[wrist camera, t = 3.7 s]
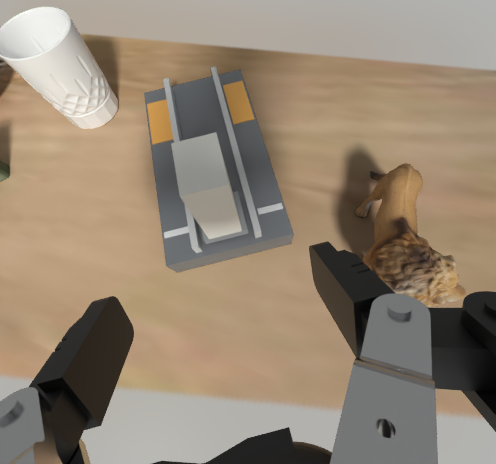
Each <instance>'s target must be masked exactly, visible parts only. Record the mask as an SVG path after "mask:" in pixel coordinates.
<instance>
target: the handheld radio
mask: <svg viewBox="0 0 496 464" xmlns="http://www.w3.org/2000/svg"><path fill="white" fill-rule="evenodd" d="M9 176H10V172H9V168H8V165H6V164H5V163H3V162H2V161H0V181H3V180H5V179H7V178H9Z"/></svg>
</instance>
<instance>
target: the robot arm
mask: <svg viewBox="0 0 496 464" xmlns="http://www.w3.org/2000/svg"><path fill="white" fill-rule="evenodd" d="M309 252H310V259H311V266H312V273H313V279H314V283H315V286H316V289H317V291H318V293H319V295H320V297H321V298H322V300H323V302H324V303H325V305H326V307H327V309H328V310H329V312H330V314H331V315H332V317H333V319H334V320H335V322H336V324H337V326H338V327H339V329H340V331H341V332H342V334H343V336H344V338H345V339H346V341H347V343H348V344H349V346H350V348H351V350H352V351H353V353H354V355H355V356H356V359H355V361H354V364H353V368H352V372H351V376H350V380H349V384H348V389H347V393H346V397H345V401H344V406H343V410H342V414H341V418H340V423H339V427H338V431H337V435H336V439H335V444H334V448H333V452H330V451H328V450H326V449H324V448H321V447H319V446H316V445H312V444H308V443H304V442H293V440H292V437H291V433H290V429H289V427H288V428H285V429H281V430H278V431H273V432H270V433H266V434H262V435H258V436H255V437H251V438H247V439H246V440H244V441H242V442H241V443H239V444H237V445H236V446H234V447H232V448H231V449H229V450H227V451H225V452H224V453H222V454H220V455H219V456H217V457H216V458H214V459H212V460H210V461H208V462H206V463H203V464H438V456H437V426H436V397H435V388H437V389H451V390H462V392H463V393H464V394H465V395H466V396H467V398H468V399H469V400H470V401H471V403H472V404H473V405H474V406H475V407H476V409H477V410H478V411H479V412H480V413H481V415H482V416H483V417H484V418H485V419H486V421H487V422H488V423H489V424H490V425H491V427H492V428H493V429H494V430H495V432H496V292H487V291H484V292H475V293H472V294H469V295H468V296H466V297H465V299H464V301H463V307H462V308H428V307H426V306H425V305H424V304H423V303H422V302H421V301H419V300H417V299H416V298H413V297H411V296H408V295H404V294H396V293H395V292H394V291H393V290H392V289H391V288H390V287H389V286H388V285H387V284H386V283H384V282H383V281H382V280H381V279H380V278H379V277H378V276H377V275H376V274H375V273H374V272H373V271H372V270H370V268H369V267H368V266H367V265H366V264H364V262H363V261H362V260H361V259H360V258H359V257H358V256H357V255H355V254H353V253H351V252H348V251H346V250H342V251H337V250H336V249H335V248H334V247H333V246H332V245H331V244H330V243H329V242H323V243H320V244H316V245H312V246H310V247H309ZM133 337H134V330H133V326H132V324H131V322H130V320H129V318H128V316H127V315H126V313H125V311H124V309H123V307H122V306H121V304H120V302H119V300H118V299H117V298H116V297H114V296H112V297H108V298H104V299H100V300H96V301H93V302H92V303H91V304H90V306H89V307H88V309H87V310H86V312H85V313H84V315H83V316H82V317H81V318H80V319H79V320H78V321H77V322H76V323H75V324H74V325H73V326H72V327H70V329H69V330H68V331H67V333H66V334H65V336H64V337H63V339H62V342H60V343H59V344H58V346H57V347H56V349H55V352H53V353H52V354H51V356H50V357H49V359H48V360H47V361H46V363H45V364H44V366H43V367H42V369H41V370H40V371H39V373H38V374H37V376H36V377H35V379H34V380H33V381H32V383H31V384H30V386H29V387H28V388H24V389H21V390H18V391H16V392H14V393H13V394H11V395H9V396H8V397H6V398H5V399H3V400H2V401H1V402H0V464H90V461H89V457H88V453H87V450H86V447H85V444H84V442H83V441H82V440H81V439H80V438H81V435H82V433H83V431H84V430H86V429H90V428H93V427H97V426H101V424H102V421H103V418H104V416H105V413H106V410H107V408H108V405H109V402H110V400H111V397H112V395H113V392H114V389H115V387H116V384H117V381H118V379H119V376H120V373H121V371H122V368H123V365H124V363H125V360H126V357H127V355H128V352H129V349H130V347H131V344H132V341H133ZM153 464H196V463H182V462H169V461H160V462H156V463H153Z"/></svg>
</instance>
